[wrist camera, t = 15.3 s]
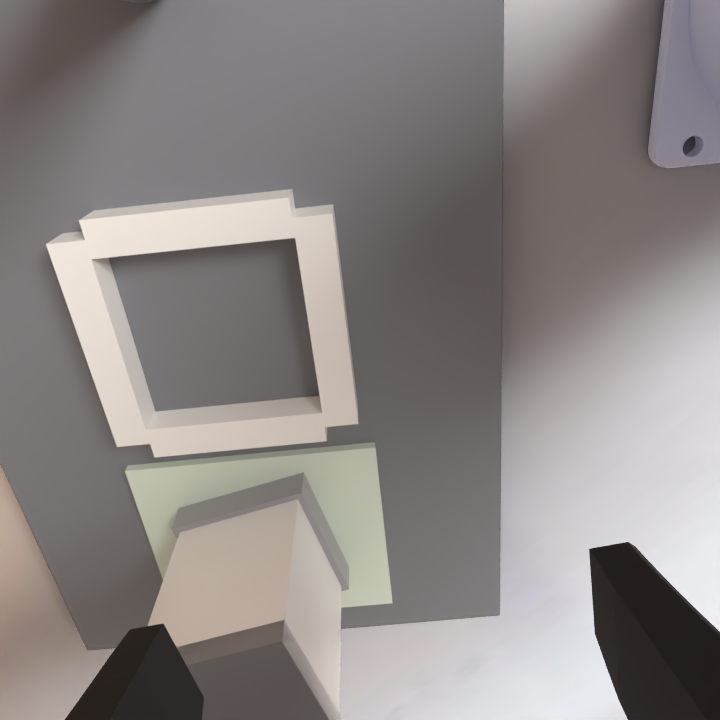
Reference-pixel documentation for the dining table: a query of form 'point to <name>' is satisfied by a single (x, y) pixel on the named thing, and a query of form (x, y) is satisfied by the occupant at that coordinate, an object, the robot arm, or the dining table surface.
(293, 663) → the plug
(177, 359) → the fixture base plate
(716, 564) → the dining table surface
